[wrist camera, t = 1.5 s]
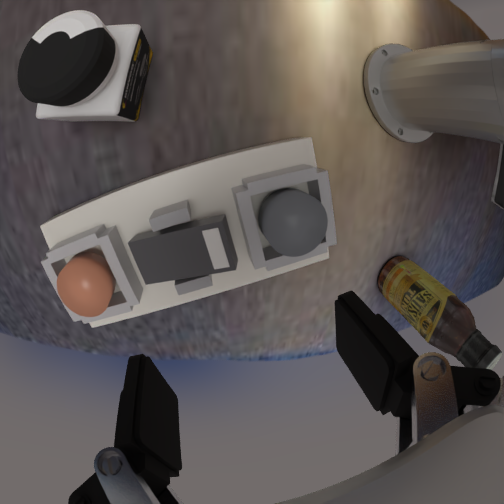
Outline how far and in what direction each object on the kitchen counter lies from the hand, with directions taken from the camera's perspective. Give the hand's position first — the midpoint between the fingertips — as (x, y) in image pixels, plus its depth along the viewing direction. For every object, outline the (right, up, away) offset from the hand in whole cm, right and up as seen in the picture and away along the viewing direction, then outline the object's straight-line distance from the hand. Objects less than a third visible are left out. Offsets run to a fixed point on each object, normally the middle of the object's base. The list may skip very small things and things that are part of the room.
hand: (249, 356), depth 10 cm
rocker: (-5, +4, +11) cm, 13 cm away
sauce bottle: (+19, +1, +24) cm, 31 cm away
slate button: (+3, +7, +13) cm, 15 cm away
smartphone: (+49, +20, +23) cm, 58 cm away
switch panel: (-6, +6, +16) cm, 18 cm away
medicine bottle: (-13, +19, +9) cm, 25 cm away
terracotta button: (-14, +2, +11) cm, 18 cm away
